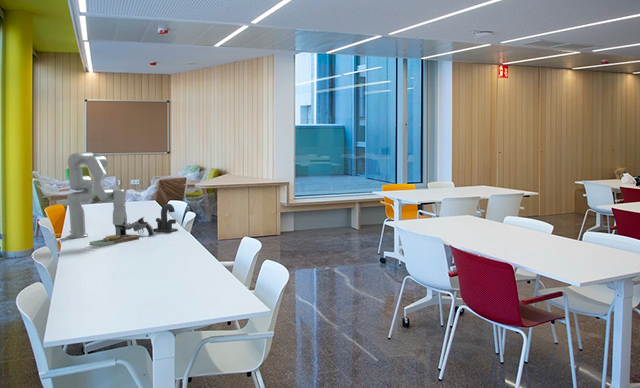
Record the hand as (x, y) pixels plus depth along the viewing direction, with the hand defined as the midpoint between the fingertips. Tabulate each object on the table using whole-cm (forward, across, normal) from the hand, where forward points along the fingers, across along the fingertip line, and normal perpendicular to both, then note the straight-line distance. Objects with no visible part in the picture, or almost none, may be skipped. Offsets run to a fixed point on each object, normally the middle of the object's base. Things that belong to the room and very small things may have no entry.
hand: (120, 234), depth 376 cm
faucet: (+4, -6, +44) cm, 45 cm away
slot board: (+4, 0, 0) cm, 4 cm away
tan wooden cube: (+4, 0, -8) cm, 9 cm away
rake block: (+3, 0, 0) cm, 3 cm away
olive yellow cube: (+4, 0, -4) cm, 6 cm away
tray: (+4, 0, -14) cm, 15 cm away
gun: (+5, -10, +19) cm, 22 cm away
